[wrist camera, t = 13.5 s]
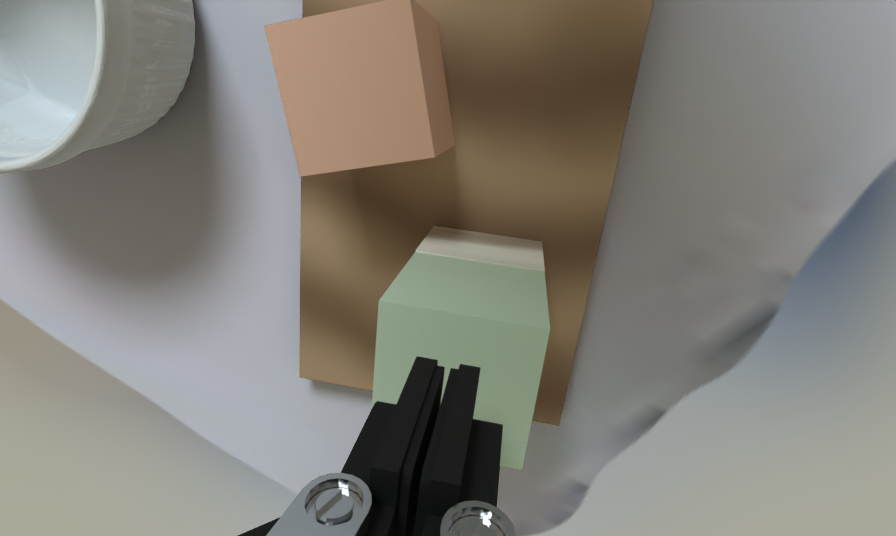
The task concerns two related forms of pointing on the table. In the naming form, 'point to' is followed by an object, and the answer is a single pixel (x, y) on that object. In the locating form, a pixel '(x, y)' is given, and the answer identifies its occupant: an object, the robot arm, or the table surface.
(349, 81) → the terracotta block
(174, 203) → the table surface
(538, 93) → the build board
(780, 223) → the table surface
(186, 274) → the table surface
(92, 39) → the ramekin
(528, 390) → the green block
